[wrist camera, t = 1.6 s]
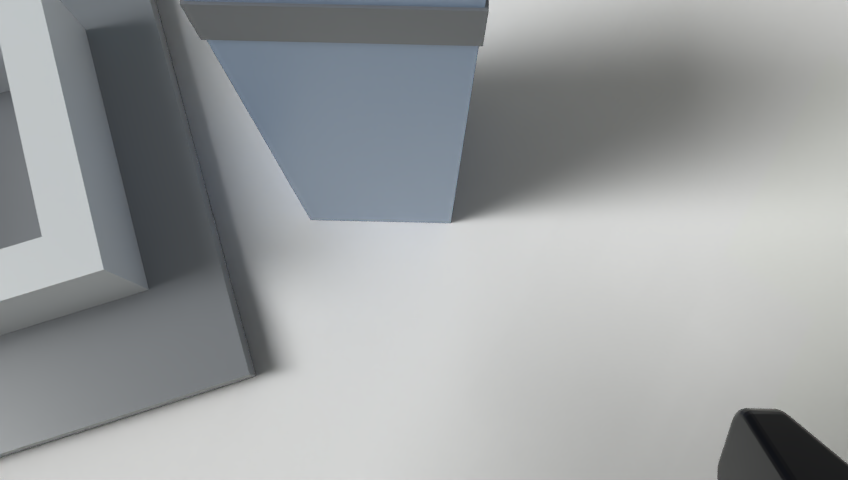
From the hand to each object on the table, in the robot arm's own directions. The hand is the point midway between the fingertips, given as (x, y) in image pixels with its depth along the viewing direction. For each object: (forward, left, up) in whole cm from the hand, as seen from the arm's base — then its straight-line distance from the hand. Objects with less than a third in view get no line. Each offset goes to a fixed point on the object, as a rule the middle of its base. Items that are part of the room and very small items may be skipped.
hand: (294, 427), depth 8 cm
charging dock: (+13, +1, -13) cm, 18 cm away
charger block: (+4, -6, -13) cm, 15 cm away
